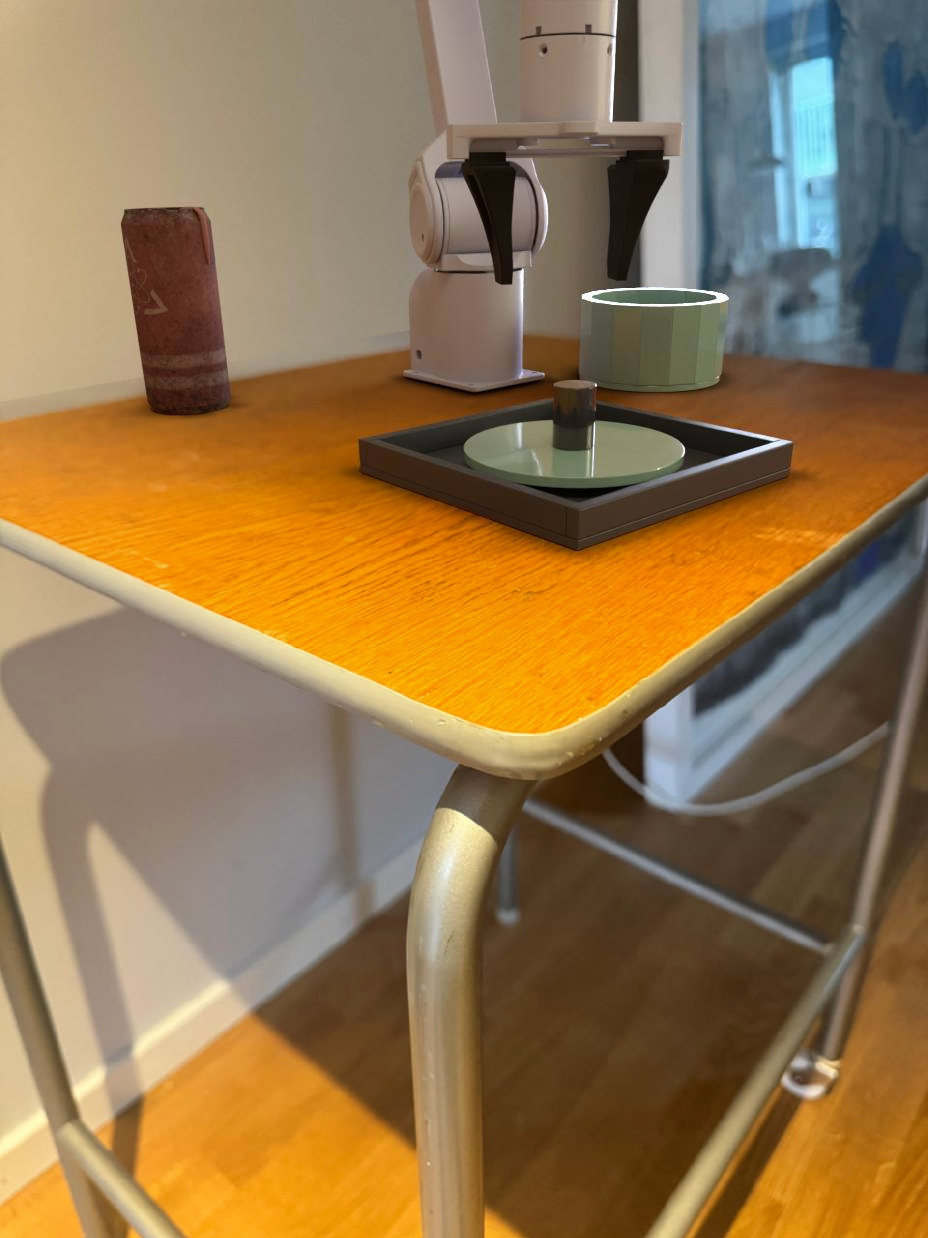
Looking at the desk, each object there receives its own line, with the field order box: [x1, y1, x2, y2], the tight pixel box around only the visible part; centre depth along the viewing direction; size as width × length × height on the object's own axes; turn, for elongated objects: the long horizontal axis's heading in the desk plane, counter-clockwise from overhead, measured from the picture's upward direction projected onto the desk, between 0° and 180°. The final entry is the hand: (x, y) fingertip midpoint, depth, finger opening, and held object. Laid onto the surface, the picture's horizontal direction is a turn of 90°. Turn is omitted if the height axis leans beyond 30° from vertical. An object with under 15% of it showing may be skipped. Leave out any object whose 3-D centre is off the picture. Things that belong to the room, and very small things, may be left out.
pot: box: [578, 287, 730, 393], centre depth 81 cm, size 12×12×6 cm
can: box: [120, 206, 232, 416], centre depth 71 cm, size 6×6×14 cm
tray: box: [357, 397, 794, 551], centre depth 56 cm, size 18×18×2 cm
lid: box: [463, 379, 685, 488], centre depth 56 cm, size 13×13×5 cm
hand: (560, 281), depth 64 cm, fingers open, 7 cm apart
